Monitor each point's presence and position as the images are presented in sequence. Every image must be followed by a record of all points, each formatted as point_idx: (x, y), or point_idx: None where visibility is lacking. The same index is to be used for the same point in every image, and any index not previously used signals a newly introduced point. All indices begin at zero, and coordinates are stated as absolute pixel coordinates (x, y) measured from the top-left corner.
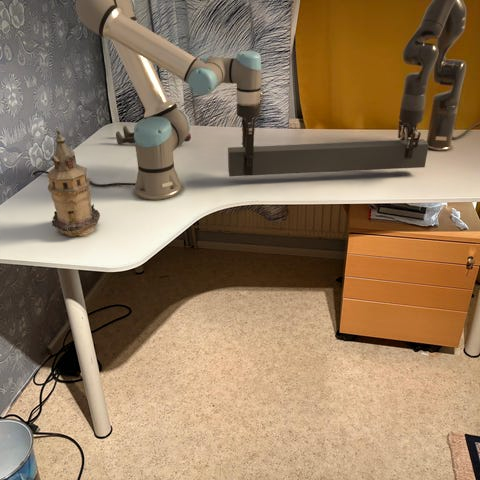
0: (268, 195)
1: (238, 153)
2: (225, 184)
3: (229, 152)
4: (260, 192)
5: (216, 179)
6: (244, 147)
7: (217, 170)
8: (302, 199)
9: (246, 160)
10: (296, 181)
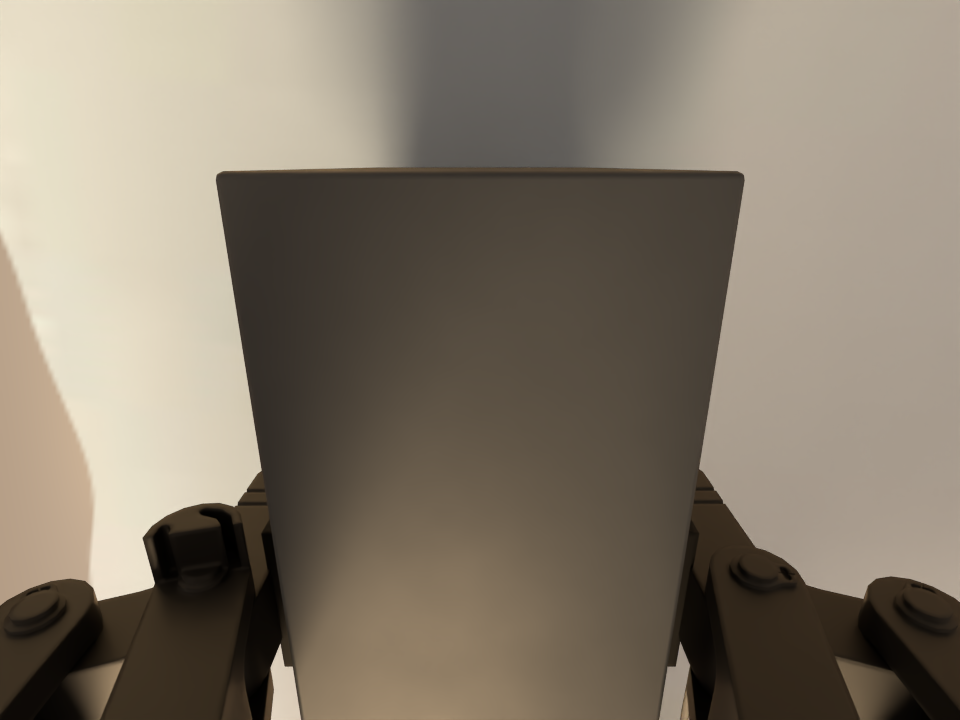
0: (172, 506)
1: (267, 449)
2: (448, 119)
3: (247, 194)
4: (233, 452)
5: (617, 7)
6: (618, 631)
7: (906, 41)
8: None
9: None
10: None
